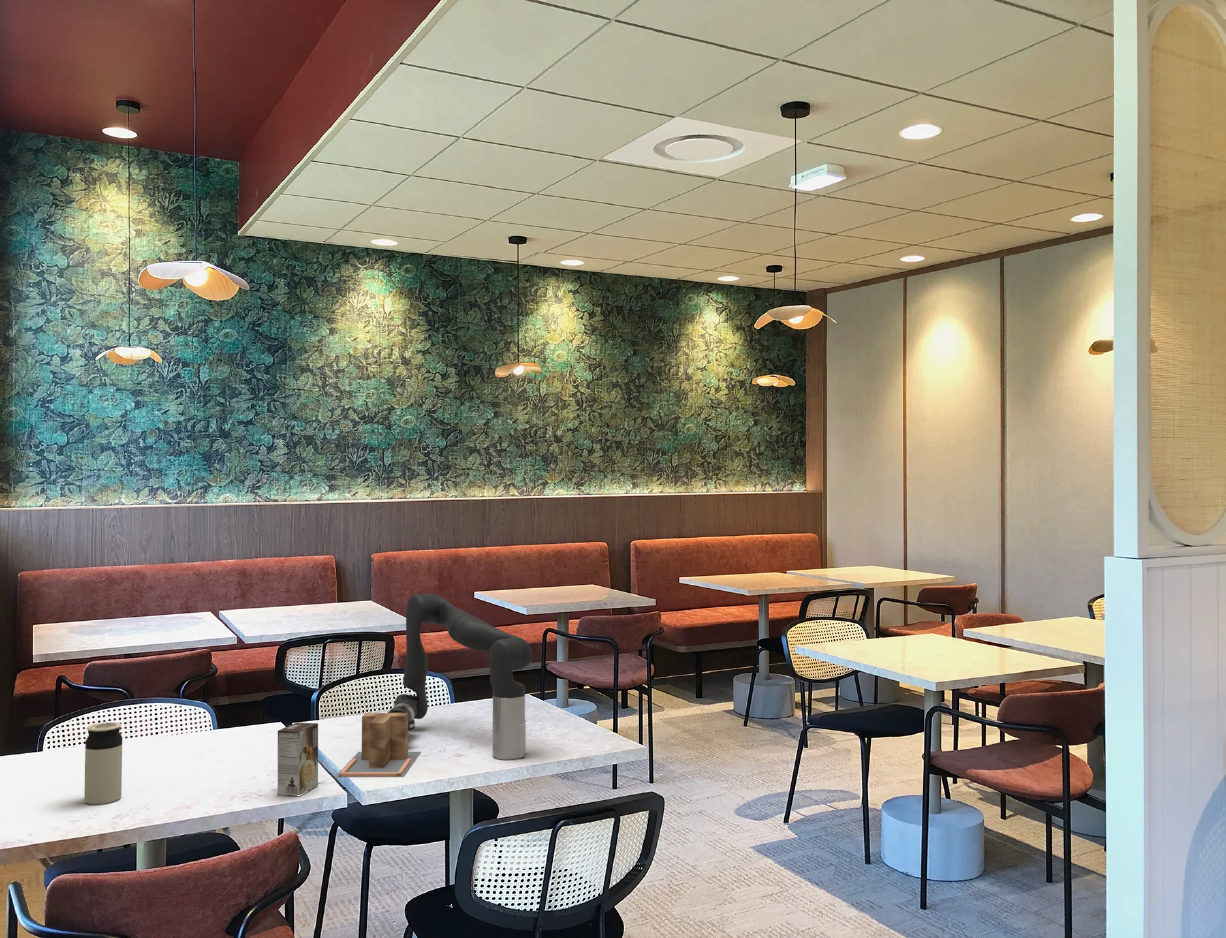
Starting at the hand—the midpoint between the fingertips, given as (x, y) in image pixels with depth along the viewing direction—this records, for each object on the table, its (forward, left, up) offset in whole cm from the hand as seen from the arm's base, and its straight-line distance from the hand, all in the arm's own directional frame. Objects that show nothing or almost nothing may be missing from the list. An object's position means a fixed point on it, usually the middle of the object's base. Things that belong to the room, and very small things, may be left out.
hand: (386, 732), depth 270 cm
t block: (0, +6, -7) cm, 9 cm away
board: (0, +8, -8) cm, 11 cm away
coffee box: (+16, +29, -8) cm, 34 cm away
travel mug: (+61, +36, -8) cm, 71 cm away
